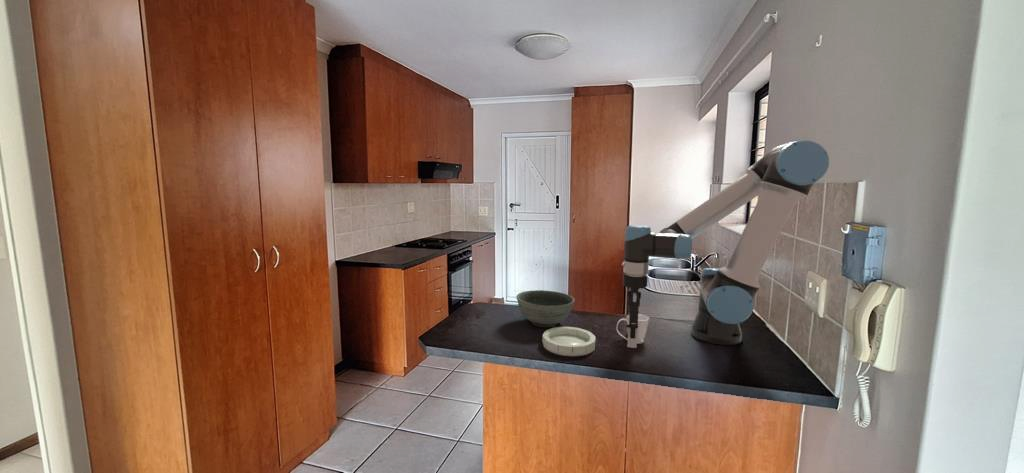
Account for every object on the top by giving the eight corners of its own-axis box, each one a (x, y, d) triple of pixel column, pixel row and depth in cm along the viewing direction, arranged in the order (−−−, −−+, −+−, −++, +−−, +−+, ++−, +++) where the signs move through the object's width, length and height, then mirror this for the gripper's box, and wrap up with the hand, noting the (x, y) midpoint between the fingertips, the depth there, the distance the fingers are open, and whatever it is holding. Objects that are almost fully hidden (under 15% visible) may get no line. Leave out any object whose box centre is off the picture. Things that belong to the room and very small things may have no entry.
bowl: (504, 326, 143) (505, 298, 142) (533, 310, 161) (533, 285, 160) (558, 339, 133) (559, 309, 131) (582, 320, 150) (583, 294, 149)
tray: (596, 338, 133) (597, 329, 133) (592, 359, 118) (592, 349, 117) (548, 333, 137) (548, 324, 137) (538, 352, 122) (538, 342, 122)
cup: (648, 346, 128) (650, 321, 126) (616, 343, 130) (617, 318, 129) (646, 337, 134) (648, 314, 133) (615, 335, 137) (616, 311, 135)
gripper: (623, 265, 141) (620, 325, 144) (622, 282, 119) (618, 353, 122) (646, 267, 139) (642, 328, 142) (649, 284, 117) (645, 356, 120)
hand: (631, 339), depth 132 cm, fingers open, 11 cm apart
